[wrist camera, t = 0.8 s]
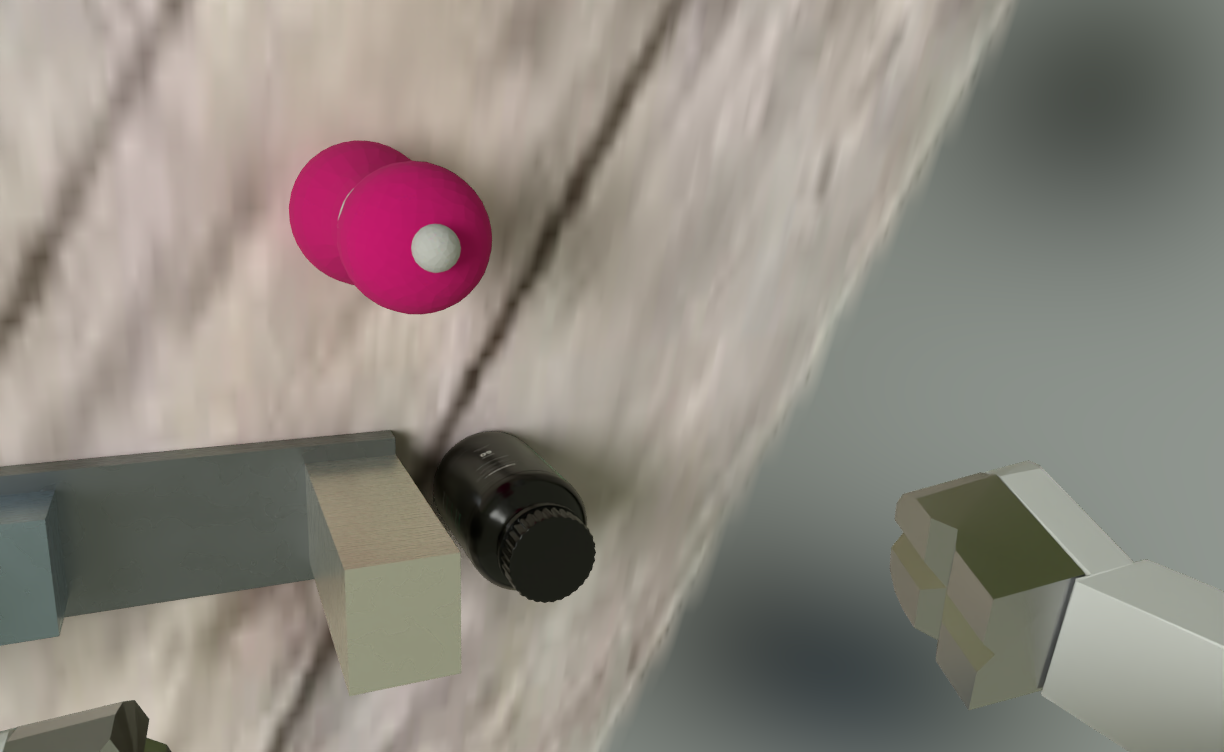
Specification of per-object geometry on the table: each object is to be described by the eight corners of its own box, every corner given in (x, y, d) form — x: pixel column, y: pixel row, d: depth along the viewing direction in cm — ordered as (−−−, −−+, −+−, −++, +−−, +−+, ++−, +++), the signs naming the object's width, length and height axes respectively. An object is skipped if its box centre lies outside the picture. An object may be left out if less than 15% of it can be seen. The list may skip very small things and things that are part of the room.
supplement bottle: (531, 418, 58) (609, 483, 48) (541, 518, 60) (618, 601, 50) (424, 441, 56) (481, 515, 45) (438, 544, 58) (496, 637, 47)
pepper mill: (399, 286, 53) (509, 366, 35) (267, 256, 50) (316, 328, 32) (430, 161, 52) (559, 179, 34) (297, 121, 49) (364, 120, 31)
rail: (-39, 619, 48) (-126, 818, 34) (-62, 472, 46) (-164, 620, 32) (393, 555, 57) (461, 692, 43) (390, 430, 55) (460, 531, 41)
